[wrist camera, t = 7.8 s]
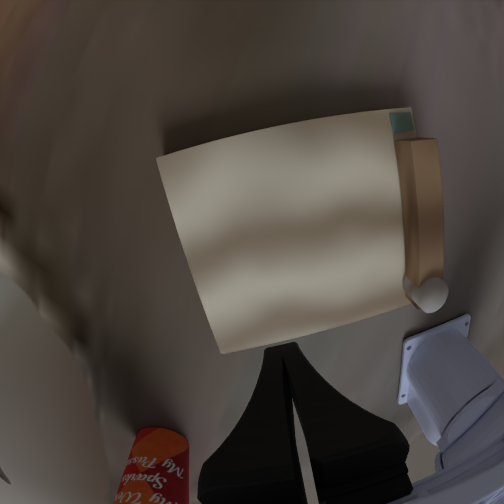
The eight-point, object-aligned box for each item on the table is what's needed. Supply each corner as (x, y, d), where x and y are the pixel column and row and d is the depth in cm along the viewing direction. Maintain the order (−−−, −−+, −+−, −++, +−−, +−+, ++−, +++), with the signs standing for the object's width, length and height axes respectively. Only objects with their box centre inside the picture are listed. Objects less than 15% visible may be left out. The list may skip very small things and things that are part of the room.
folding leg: (429, 290, 20) (446, 306, 18) (402, 299, 20) (419, 317, 18) (421, 137, 16) (445, 138, 14) (391, 140, 16) (413, 142, 14)
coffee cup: (186, 418, 27) (170, 554, 13) (208, 458, 30) (203, 569, 15) (114, 419, 27) (79, 535, 13) (144, 458, 30) (125, 559, 16)
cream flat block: (413, 287, 23) (426, 299, 21) (222, 337, 23) (221, 354, 21) (396, 109, 18) (411, 107, 16) (163, 156, 18) (155, 158, 16)
